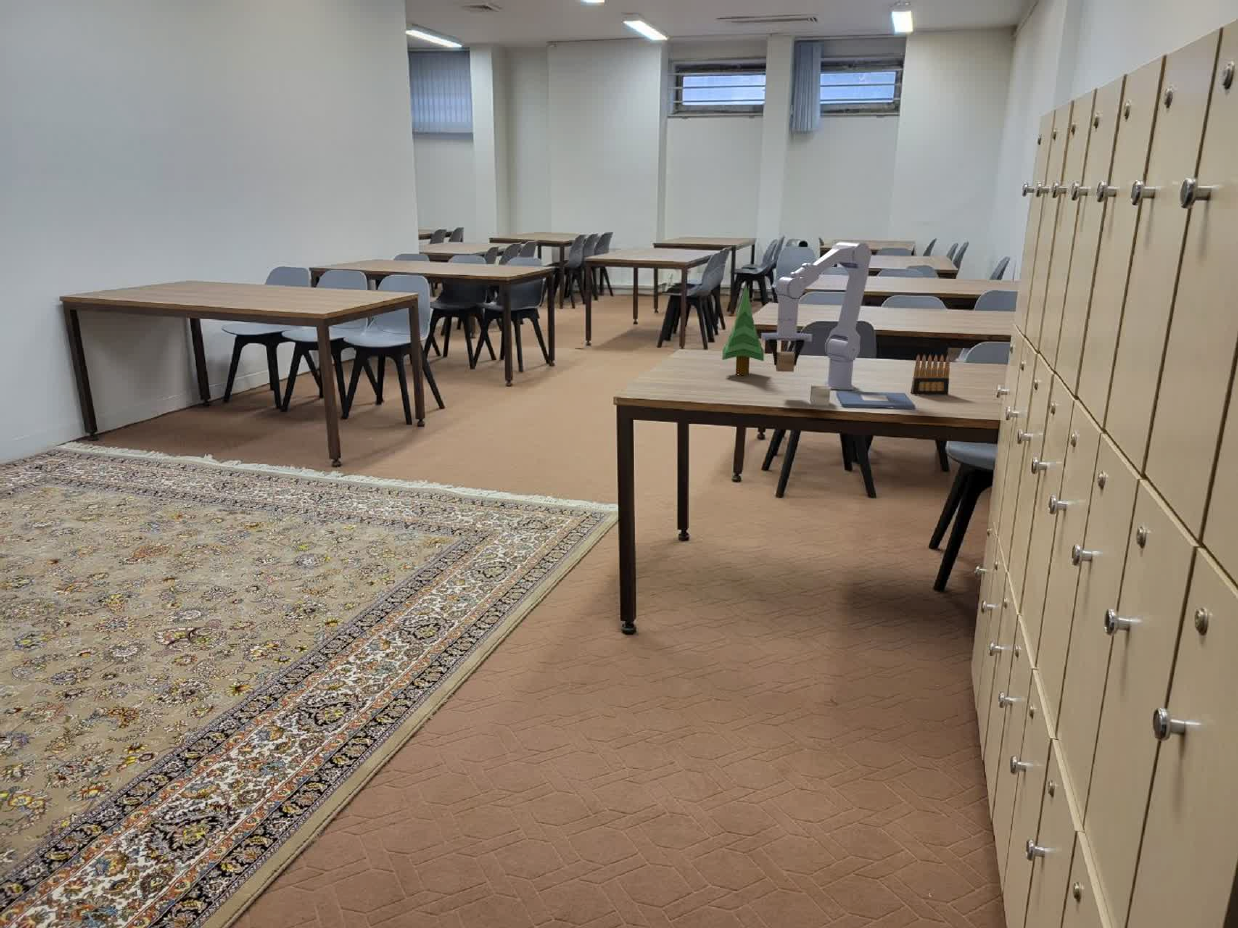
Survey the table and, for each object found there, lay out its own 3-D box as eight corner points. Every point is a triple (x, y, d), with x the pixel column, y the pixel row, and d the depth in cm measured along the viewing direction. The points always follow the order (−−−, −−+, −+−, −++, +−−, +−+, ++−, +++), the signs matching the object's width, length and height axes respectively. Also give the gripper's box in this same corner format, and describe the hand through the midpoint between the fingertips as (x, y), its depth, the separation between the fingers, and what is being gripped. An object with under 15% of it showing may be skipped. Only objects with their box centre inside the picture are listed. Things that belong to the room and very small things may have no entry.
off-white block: (809, 401, 257) (811, 384, 256) (827, 401, 257) (828, 385, 255) (811, 405, 253) (812, 388, 251) (829, 405, 252) (830, 388, 250)
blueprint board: (836, 394, 265) (836, 390, 265) (904, 396, 263) (904, 392, 262) (842, 406, 250) (842, 403, 250) (914, 409, 248) (915, 405, 247)
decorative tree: (773, 376, 290) (778, 284, 281) (731, 380, 284) (734, 286, 275) (752, 369, 302) (756, 280, 293) (711, 372, 296) (714, 282, 287)
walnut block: (775, 368, 264) (776, 351, 262) (792, 368, 263) (793, 351, 261) (776, 371, 259) (777, 354, 257) (793, 371, 258) (794, 355, 257)
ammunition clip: (912, 394, 265) (916, 355, 261) (910, 393, 267) (914, 354, 263) (948, 394, 264) (952, 355, 261) (946, 393, 266) (950, 354, 263)
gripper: (762, 320, 253) (760, 367, 258) (813, 321, 252) (810, 368, 256) (762, 317, 260) (760, 362, 264) (812, 317, 258) (809, 363, 262)
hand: (784, 365), depth 260 cm, fingers closed on walnut block, 5 cm apart
